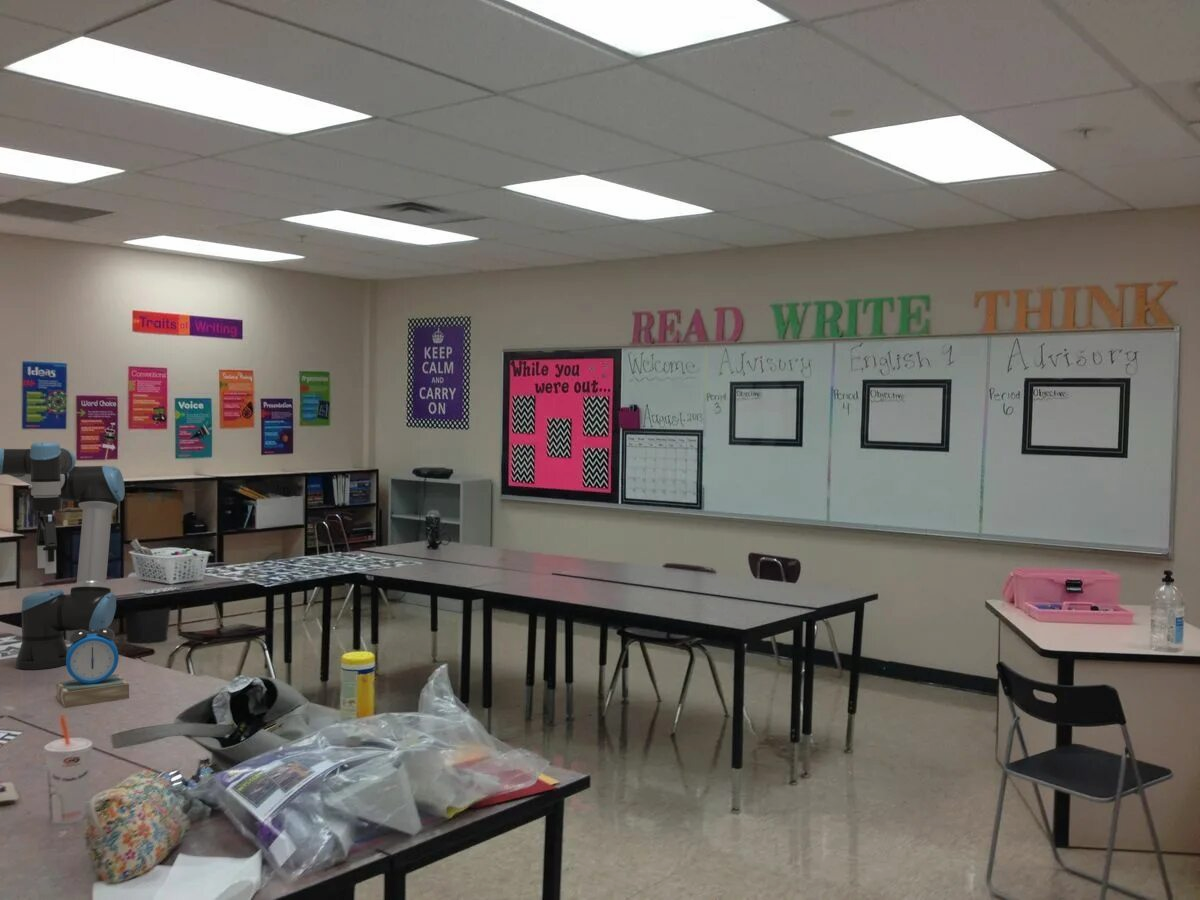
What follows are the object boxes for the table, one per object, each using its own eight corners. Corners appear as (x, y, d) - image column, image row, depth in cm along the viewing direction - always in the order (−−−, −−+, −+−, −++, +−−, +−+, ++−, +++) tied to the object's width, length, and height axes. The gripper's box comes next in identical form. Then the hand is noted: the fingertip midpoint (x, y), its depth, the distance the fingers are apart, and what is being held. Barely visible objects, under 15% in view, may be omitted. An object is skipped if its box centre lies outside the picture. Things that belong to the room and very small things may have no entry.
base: (56, 696, 287) (56, 681, 287) (118, 687, 297) (118, 673, 296) (65, 707, 276) (65, 691, 276) (129, 698, 285) (128, 682, 285)
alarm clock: (66, 687, 280) (65, 632, 280) (66, 682, 286) (65, 628, 286) (118, 681, 286) (118, 628, 286) (118, 677, 292) (117, 624, 292)
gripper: (24, 494, 300) (25, 566, 300) (37, 499, 279) (38, 576, 280) (53, 493, 304) (54, 564, 304) (68, 498, 284) (69, 574, 284)
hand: (46, 570), depth 292 cm, fingers open, 13 cm apart
